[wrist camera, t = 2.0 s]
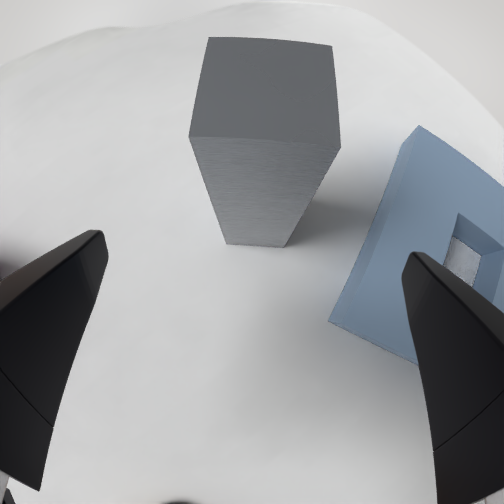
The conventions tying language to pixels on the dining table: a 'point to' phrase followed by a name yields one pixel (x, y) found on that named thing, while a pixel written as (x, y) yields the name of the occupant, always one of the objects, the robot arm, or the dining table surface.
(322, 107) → the grey tapered peg
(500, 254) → the blue square washer
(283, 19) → the dining table surface
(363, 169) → the dining table surface
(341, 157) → the dining table surface
